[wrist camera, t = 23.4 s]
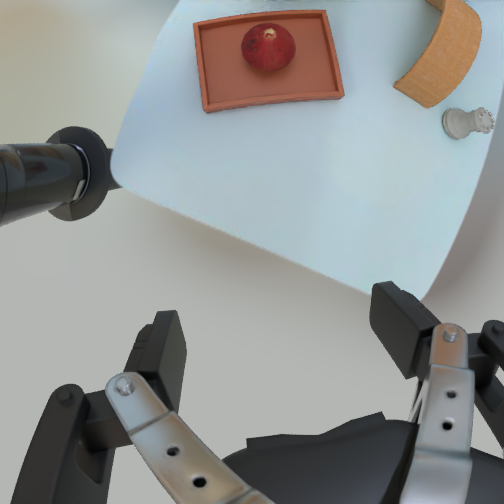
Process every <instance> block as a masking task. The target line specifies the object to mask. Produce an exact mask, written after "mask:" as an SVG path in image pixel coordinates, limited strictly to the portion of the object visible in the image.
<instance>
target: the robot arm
mask: <svg viewBox="0 0 504 504" xmlns="http://www.w3.org/2000/svg"><path fill="white" fill-rule="evenodd" d="M90 180H91V164H90V160H89V158H88V155H87V154H86V152H85V151H84V150H83V148H81V147H80V146H79V145H77V144H73V143H64V144H57V143H36V144H35V143H33V144H32V143H31V144H30V143H29V144H3V145H0V227H1V226H3V225H6V224H9V223H11V222H14V221H17V220H20V219H23V218H26V217H29V216H32V215H35V214H38V213H42V212H45V211H48V210H51V209H55V208H58V207H61V206H65V205H71V204H74V203H76V202H78V201H79V200H80V199H81V198H82V197H83V196H84V195H85V193H86V192H87V190H88V187H89V184H90ZM370 325H371V328H372V329H373V331H374V332H375V334H376V335H377V337H378V338H379V340H380V341H381V343H382V344H383V346H384V347H385V349H386V350H387V351H388V353H389V355H391V357H392V359H393V360H394V362H395V364H396V365H397V367H398V368H399V369H400V371H401V372H402V374H403V376H404V377H405V379H409V378H412V377H415V376H417V377H418V382H417V385H416V389H415V394H414V398H413V402H412V406H411V410H410V414H409V418H408V421H403V420H386V419H385V417H384V415H383V413H382V411H381V412H378V413H375V414H371V415H368V416H364V417H361V418H357V419H353V420H350V421H349V422H346V423H344V424H342V425H341V426H338V427H336V428H334V429H332V430H330V431H327V432H325V433H323V434H320V435H289V434H280V435H272V436H264V437H256V438H247V439H246V441H247V448H245V449H242V450H239V451H237V452H235V453H232V454H231V455H229V456H227V457H225V458H224V459H222V460H220V459H219V458H218V457H217V456H216V455H215V454H214V453H213V452H212V451H211V450H210V449H209V448H208V447H207V446H206V445H205V444H204V443H203V442H202V441H201V439H200V438H199V437H198V436H197V435H196V434H195V433H194V432H193V431H192V430H191V429H190V428H189V427H188V426H187V424H186V423H185V422H184V421H183V420H182V419H181V418H180V416H179V415H178V410H179V402H180V396H181V389H182V382H183V375H184V368H185V362H186V355H187V349H186V342H185V338H184V335H183V331H182V327H181V324H180V320H179V316H178V313H177V311H176V310H169V311H158V312H157V313H156V316H155V319H154V322H153V324H147V325H146V326H145V327H144V328H143V329H142V330H141V331H140V332H139V333H138V335H137V338H136V342H135V343H134V346H133V350H131V353H130V355H129V358H128V361H127V363H126V366H125V369H124V371H123V373H120V374H117V375H115V376H114V377H112V378H111V379H110V380H109V381H108V383H107V384H106V387H105V390H101V391H97V392H92V393H87V394H84V392H83V390H82V388H81V387H79V386H78V385H76V384H66V385H63V386H61V387H59V388H57V389H56V390H55V391H54V392H53V393H52V394H51V396H50V398H49V400H48V402H47V405H46V407H45V409H44V412H43V414H42V416H41V418H40V421H39V423H38V426H37V428H36V431H35V433H34V435H33V438H32V440H31V443H30V446H29V448H28V451H27V454H26V456H25V459H24V462H23V465H22V468H21V471H20V474H19V477H18V480H17V483H16V486H15V490H14V493H13V496H12V500H11V503H10V504H106V503H107V497H108V490H109V483H110V477H111V471H112V465H113V460H114V459H113V458H114V454H115V449H116V448H117V447H122V446H127V445H132V444H134V446H135V447H136V449H137V450H138V452H139V453H140V455H141V456H142V458H143V459H144V461H145V462H146V464H147V465H148V467H149V468H150V470H151V471H152V472H153V474H154V475H155V476H156V478H157V479H158V481H159V482H160V483H161V485H162V486H163V487H164V489H165V490H166V491H167V492H168V494H169V495H170V496H171V498H172V499H173V500H174V501H175V502H176V504H504V386H503V385H502V384H501V382H500V381H499V380H498V378H497V377H496V376H495V374H496V372H497V370H498V368H499V366H500V367H501V368H502V370H503V371H504V323H503V322H501V321H498V320H489V321H487V322H485V323H484V325H483V328H482V331H481V333H472V334H467V333H466V331H465V330H464V329H463V328H462V327H460V326H458V325H456V324H452V323H441V322H440V321H439V320H438V319H437V318H436V317H435V316H434V315H433V314H432V313H431V312H430V311H429V310H428V309H427V308H425V306H424V305H423V304H422V303H420V301H419V300H418V299H417V298H416V297H415V296H414V295H412V294H410V293H408V292H406V291H404V290H400V289H399V288H398V287H397V286H396V285H395V284H394V283H393V282H392V281H386V282H381V283H375V284H374V285H373V288H372V297H371V307H370ZM474 404H475V405H476V407H477V408H478V410H479V411H480V413H481V414H482V416H483V418H484V419H485V421H486V422H487V424H488V426H489V427H490V429H491V430H492V432H493V434H494V435H495V437H496V439H497V440H498V442H499V444H500V446H501V447H502V449H503V459H502V458H499V457H496V456H493V455H491V454H488V453H485V452H483V451H480V450H477V449H475V448H472V447H470V444H471V437H472V426H473V413H474Z"/></svg>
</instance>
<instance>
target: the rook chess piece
mask: <svg viewBox="0 0 504 504" xmlns="http://www.w3.org/2000/svg"><path fill="white" fill-rule="evenodd" d="M491 116H492V113H491V112H488V110H485V109H484V108H478V109H477V110H476V111H474V110H473V111H471V112H470V113H467V112H464V111H463V110H461V109H458V108H453V109H448V110H447V111H446V112H445V114H444V118H443V123H444V127H445V129H446V131H447V133H448V134H449V135H450V136H451V137H452V138H454V139H462V138H465V137H466V136H468V135H469V133H470V132H473V131H476V132H483V133H484V134H488V133H489V132H490V131H491V129H494V125H493V122H495V120H494V118H493V119H492V118H491Z"/></svg>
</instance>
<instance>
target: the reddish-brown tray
mask: <svg viewBox="0 0 504 504" xmlns="http://www.w3.org/2000/svg"><path fill="white" fill-rule="evenodd" d="M261 23H274V24H278V25H280V26H282V27H284V28H285V29H287V30H288V31H289V33H290V34H291V35H292V37H293V38H294V42H295V46H296V51H295V56H294V58H293V59H292V61H291V62H290V63H289V64H288V65H287V66H286V67H284V68H282V69H280V70H276V71H263V70H259V69H257V68H255V67H253V66H251V65H249V63H248V62H247V61H246V60H245V58H244V57H243V56H242V50H241V43H242V40H243V37H244V35H245V34H246V33H247V32H248V31H249V30H250V29H251V28H252V27H254V26H256V25H258V24H261ZM193 28H194V37H195V46H196V55H197V63H198V72H199V80H200V88H201V96H202V103H203V110H204V111H205V112H206V113H210V112H216V111H221V110H228V109H234V108H241V107H248V106H255V105H264V104H272V103H282V102H294V101H307V100H326V99H341V98H342V97H343V96H344V90H343V84H342V79H341V74H340V69H339V64H338V59H337V55H336V50H335V46H334V41H333V37H332V33H331V29H330V25H329V21H328V17H327V14H326V10H288V11H272V12H261V13H251V14H243V15H236V16H229V17H223V18H217V19H212V20H206V21H201V22H197V23H193Z"/></svg>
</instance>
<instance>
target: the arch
mask: <svg viewBox="0 0 504 504" xmlns="http://www.w3.org/2000/svg"><path fill="white" fill-rule="evenodd" d="M426 1H427V2H429V3H430V4H432V5H433V6H435V7H436V8H438V9H439V10H441V11H442V13H441V16H440V20H439V22H438V25H437V28H436V30H435V32H434V34H433V36H432V38H431V40H430V42H429V44H428V45H427V47H426V49H425V50H424V52H423V53H422V55H421V56H420V58H419V59H418V60H417V62H416V63H415V64H414V65H413V67H412V68H411V69H410V70H409V71H408V72H407V73H406V74H405V75H404V76H403V77H402V78H401V79H399V80H397V81H396V82H395V85H393V87H394V88H396V89H398V90H399V91H401V92H402V93H404V94H406V95H407V96H409V97H410V98H412V99H414V100H415V101H417V102H418V103H420V104H421V105H423V106H424V107H426V108H429V107H432V106H434V105H436V104H438V103H439V102H441V101H442V100H443V99H445V98H446V97H447V96H448V95H449V94H450V93H451V92H452V91H453V90H454V89H455V88H456V87H457V86H458V85H459V83H460V82H461V81H462V80H463V78H464V77H465V75H466V74H467V72H468V71H469V69H470V67H471V65H472V63H473V61H474V59H475V57H476V54H477V52H478V49H479V45H480V41H481V34H482V26H481V21H480V18H479V15H478V14H477V13H476V11H474V10H473V9H472V8H471V7H469V6H468V5H467V4H466V3H464V2H463V1H462V0H426Z"/></svg>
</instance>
